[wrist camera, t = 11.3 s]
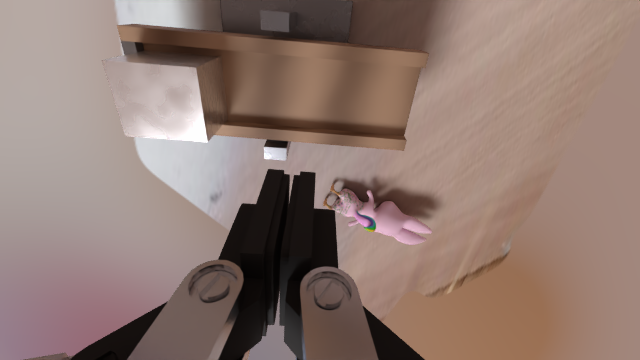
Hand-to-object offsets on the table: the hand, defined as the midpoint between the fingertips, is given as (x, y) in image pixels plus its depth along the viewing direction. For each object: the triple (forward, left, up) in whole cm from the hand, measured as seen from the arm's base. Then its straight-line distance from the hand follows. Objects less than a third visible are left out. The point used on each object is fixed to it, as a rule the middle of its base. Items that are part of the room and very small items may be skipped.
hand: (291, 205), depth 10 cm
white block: (+10, 0, -16) cm, 19 cm away
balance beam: (+3, 0, -17) cm, 17 cm away
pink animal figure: (-10, +17, -23) cm, 30 cm away
